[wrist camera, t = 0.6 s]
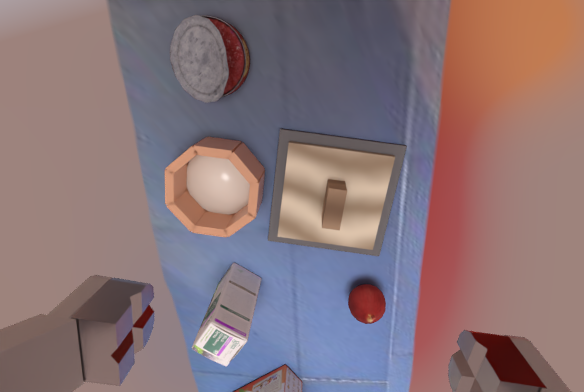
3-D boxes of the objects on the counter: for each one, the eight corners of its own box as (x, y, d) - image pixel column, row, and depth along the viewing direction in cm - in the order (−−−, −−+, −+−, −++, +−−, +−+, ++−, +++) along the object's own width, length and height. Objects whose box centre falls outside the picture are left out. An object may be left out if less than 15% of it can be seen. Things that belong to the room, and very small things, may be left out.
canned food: (238, 93, 52) (211, 132, 45) (178, 52, 49) (141, 86, 42) (274, 33, 44) (248, 70, 37) (205, -20, 41) (164, 9, 34)
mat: (280, 128, 48) (280, 129, 48) (405, 145, 48) (406, 146, 47) (268, 238, 55) (267, 240, 54) (378, 254, 55) (379, 256, 54)
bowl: (181, 133, 49) (164, 141, 44) (267, 144, 49) (261, 154, 44) (181, 212, 54) (165, 228, 49) (260, 223, 54) (253, 241, 48)
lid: (289, 141, 48) (286, 149, 44) (393, 155, 48) (401, 164, 43) (278, 233, 54) (274, 249, 49) (371, 246, 53) (377, 264, 49)
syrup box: (233, 261, 57) (207, 321, 43) (263, 278, 58) (247, 342, 44) (217, 284, 59) (188, 349, 45) (247, 300, 60) (226, 369, 46)
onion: (379, 303, 58) (389, 338, 50) (346, 302, 58) (350, 337, 51) (382, 274, 56) (392, 306, 48) (347, 274, 56) (351, 305, 49)
